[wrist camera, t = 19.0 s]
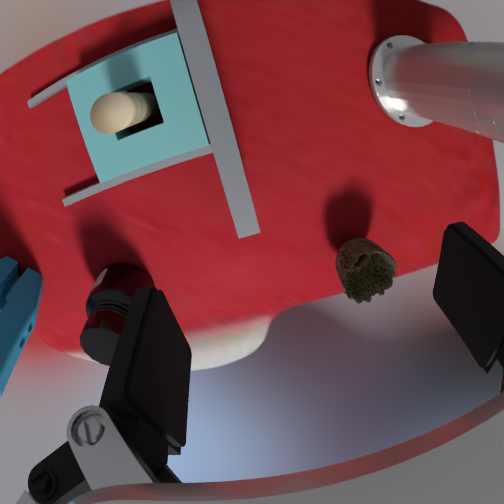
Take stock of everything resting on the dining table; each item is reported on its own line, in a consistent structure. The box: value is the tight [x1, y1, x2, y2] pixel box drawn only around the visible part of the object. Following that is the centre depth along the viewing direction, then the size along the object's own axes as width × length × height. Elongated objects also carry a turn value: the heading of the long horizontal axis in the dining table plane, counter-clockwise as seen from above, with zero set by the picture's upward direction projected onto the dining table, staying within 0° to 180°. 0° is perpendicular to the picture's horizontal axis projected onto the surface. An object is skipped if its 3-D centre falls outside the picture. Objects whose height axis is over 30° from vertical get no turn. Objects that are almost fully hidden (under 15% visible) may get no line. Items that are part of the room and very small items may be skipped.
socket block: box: [66, 33, 210, 184], centre depth 26 cm, size 12×12×5 cm
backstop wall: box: [27, 0, 260, 238], centre depth 24 cm, size 22×28×10 cm
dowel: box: [90, 93, 159, 134], centre depth 23 cm, size 3×3×12 cm
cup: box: [336, 238, 397, 303], centre depth 37 cm, size 8×7×8 cm
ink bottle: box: [80, 263, 154, 366], centre depth 35 cm, size 10×9×12 cm
